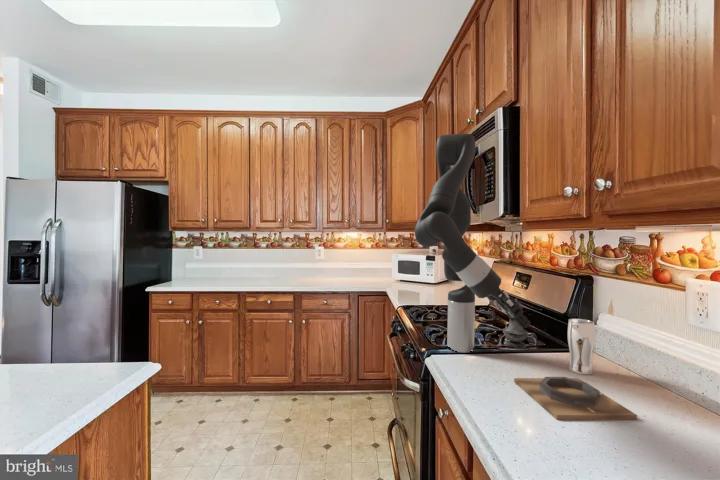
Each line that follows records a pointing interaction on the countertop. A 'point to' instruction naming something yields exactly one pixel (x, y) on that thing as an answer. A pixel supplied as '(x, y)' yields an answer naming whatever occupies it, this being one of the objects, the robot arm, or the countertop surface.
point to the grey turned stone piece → (515, 332)
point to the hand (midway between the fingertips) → (523, 323)
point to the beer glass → (581, 345)
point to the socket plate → (574, 411)
